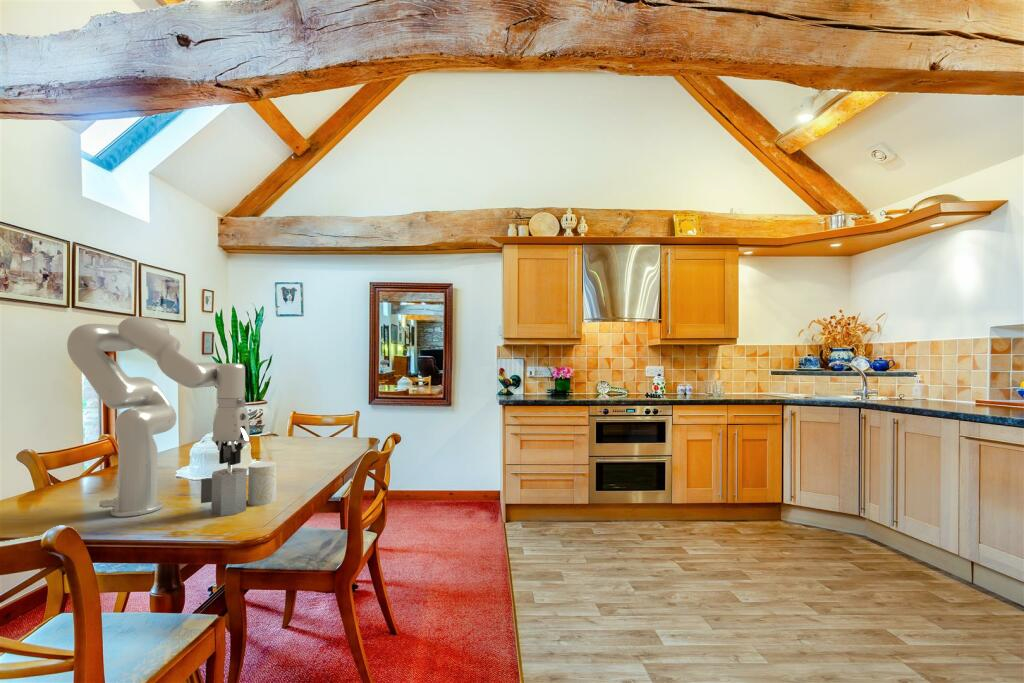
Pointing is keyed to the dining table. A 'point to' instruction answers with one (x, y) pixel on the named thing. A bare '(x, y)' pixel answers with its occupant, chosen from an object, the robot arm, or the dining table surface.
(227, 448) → the plunger
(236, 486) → the octagonal faceted vessel
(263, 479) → the light grey cylinder
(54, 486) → the dining table surface
